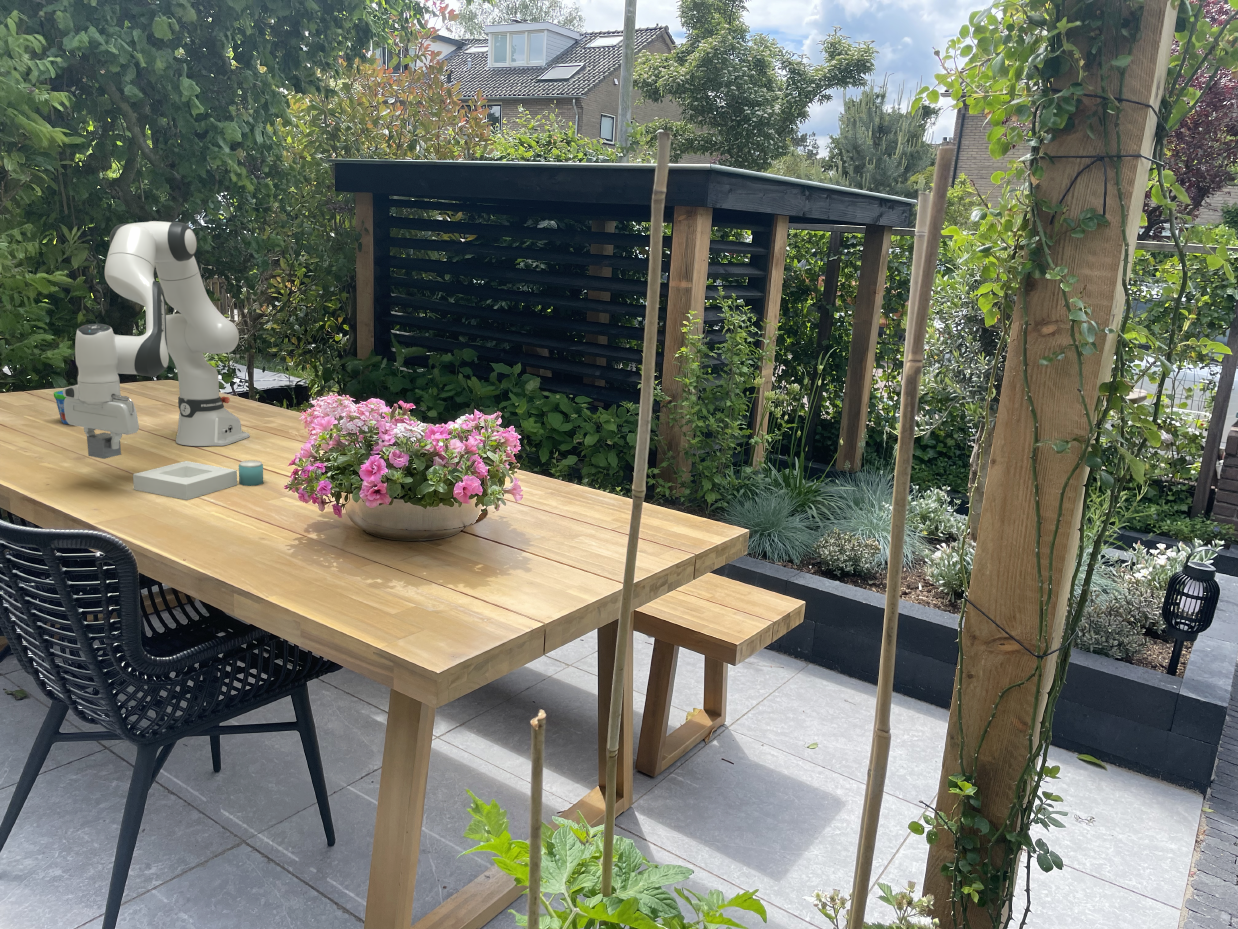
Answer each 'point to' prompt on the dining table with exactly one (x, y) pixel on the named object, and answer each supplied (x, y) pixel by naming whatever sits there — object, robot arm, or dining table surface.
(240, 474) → the teal pot
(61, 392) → the snack cup
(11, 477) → the dining table surface
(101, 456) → the block
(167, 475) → the tray
